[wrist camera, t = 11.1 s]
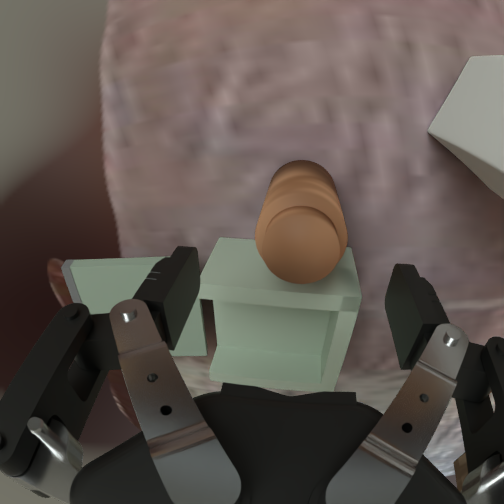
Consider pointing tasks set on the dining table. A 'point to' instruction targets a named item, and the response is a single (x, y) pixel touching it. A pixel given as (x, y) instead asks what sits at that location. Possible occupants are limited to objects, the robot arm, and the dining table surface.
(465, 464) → the planter frame
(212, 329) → the dining table surface
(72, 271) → the panel
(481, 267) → the dining table surface
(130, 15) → the dining table surface
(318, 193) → the brown ridged cylinder
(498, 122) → the milk carton
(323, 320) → the crate
